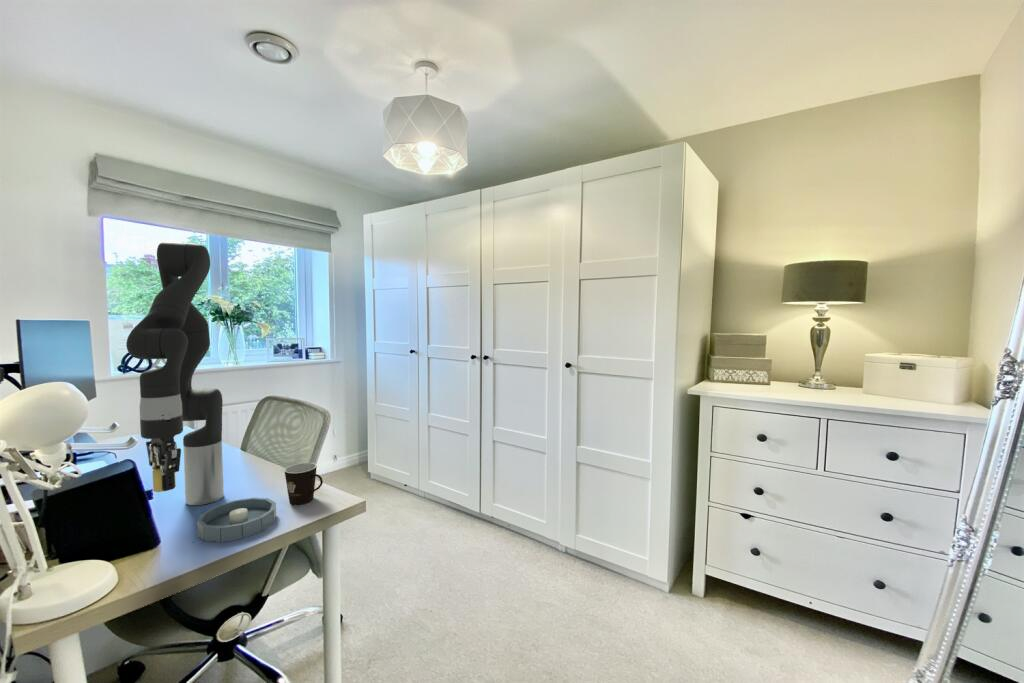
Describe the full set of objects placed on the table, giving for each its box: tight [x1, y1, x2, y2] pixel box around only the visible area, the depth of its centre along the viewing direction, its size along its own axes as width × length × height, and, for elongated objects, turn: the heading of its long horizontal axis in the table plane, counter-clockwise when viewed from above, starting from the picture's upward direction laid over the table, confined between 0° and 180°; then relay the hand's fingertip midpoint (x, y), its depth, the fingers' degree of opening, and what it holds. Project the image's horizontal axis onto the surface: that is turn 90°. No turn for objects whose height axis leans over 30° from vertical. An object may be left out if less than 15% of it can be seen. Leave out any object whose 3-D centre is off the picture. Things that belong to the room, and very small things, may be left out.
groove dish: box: [196, 497, 277, 543], centre depth 110 cm, size 17×17×4 cm
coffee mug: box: [283, 462, 324, 506], centre depth 124 cm, size 12×9×10 cm
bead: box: [152, 465, 176, 493], centre depth 97 cm, size 4×4×5 cm
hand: (164, 487), depth 97 cm, fingers closed on bead, 4 cm apart
